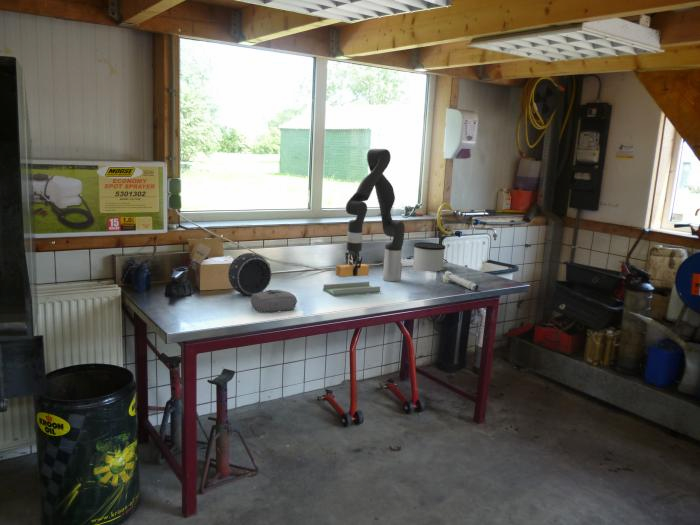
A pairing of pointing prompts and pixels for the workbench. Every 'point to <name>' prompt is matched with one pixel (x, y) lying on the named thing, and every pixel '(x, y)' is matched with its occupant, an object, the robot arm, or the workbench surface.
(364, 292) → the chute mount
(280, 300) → the soft grey pack
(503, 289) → the workbench surface
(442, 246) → the container
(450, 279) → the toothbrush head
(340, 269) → the chute
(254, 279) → the dark patterned drum
